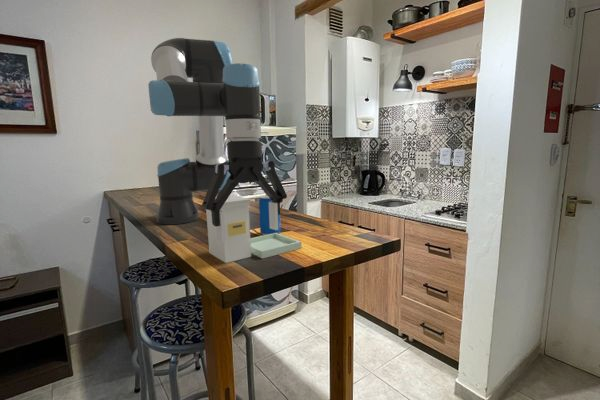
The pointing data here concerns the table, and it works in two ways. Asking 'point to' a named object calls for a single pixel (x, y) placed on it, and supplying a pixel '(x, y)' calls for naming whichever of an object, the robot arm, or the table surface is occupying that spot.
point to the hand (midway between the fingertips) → (249, 234)
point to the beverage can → (266, 216)
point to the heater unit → (231, 231)
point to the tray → (273, 245)
